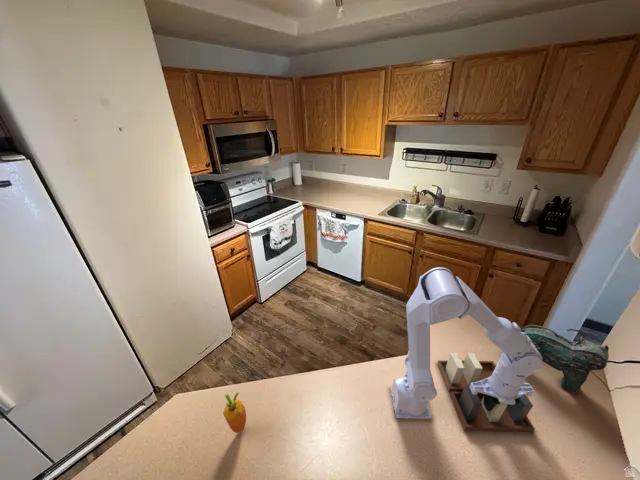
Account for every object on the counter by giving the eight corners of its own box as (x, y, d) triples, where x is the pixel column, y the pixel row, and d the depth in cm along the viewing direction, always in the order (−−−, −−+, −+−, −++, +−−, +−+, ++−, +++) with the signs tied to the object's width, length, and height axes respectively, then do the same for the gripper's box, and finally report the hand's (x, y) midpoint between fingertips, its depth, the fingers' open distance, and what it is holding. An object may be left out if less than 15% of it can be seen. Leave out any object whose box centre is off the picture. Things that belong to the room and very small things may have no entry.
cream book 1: (451, 384, 77) (457, 367, 73) (444, 369, 82) (450, 352, 78) (458, 384, 77) (464, 368, 73) (451, 369, 82) (457, 352, 78)
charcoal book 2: (514, 422, 68) (525, 405, 64) (502, 403, 72) (512, 386, 69) (521, 422, 68) (533, 405, 64) (510, 403, 72) (520, 386, 68)
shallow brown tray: (448, 392, 76) (449, 388, 75) (437, 364, 84) (438, 360, 83) (508, 393, 75) (510, 389, 74) (491, 365, 83) (493, 361, 82)
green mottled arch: (582, 385, 77) (619, 339, 67) (583, 403, 72) (621, 356, 63) (504, 348, 88) (526, 305, 78) (500, 361, 84) (522, 317, 74)
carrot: (230, 425, 69) (218, 392, 62) (249, 417, 71) (239, 385, 64) (231, 445, 65) (219, 413, 58) (251, 437, 67) (242, 404, 60)
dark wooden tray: (463, 431, 67) (465, 427, 66) (449, 395, 75) (451, 391, 74) (532, 432, 66) (534, 429, 65) (510, 396, 74) (512, 392, 73)
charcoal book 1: (466, 421, 69) (474, 404, 65) (457, 402, 73) (465, 385, 69) (473, 421, 68) (482, 404, 65) (465, 402, 73) (472, 385, 69)
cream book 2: (468, 385, 77) (475, 368, 73) (460, 369, 81) (467, 352, 78) (475, 385, 77) (482, 368, 73) (467, 369, 81) (474, 353, 78)
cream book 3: (490, 422, 68) (499, 405, 64) (480, 402, 73) (488, 385, 69) (497, 422, 68) (507, 405, 64) (487, 402, 73) (496, 385, 69)
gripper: (486, 391, 59) (470, 422, 66) (551, 393, 59) (529, 424, 66) (471, 364, 66) (458, 395, 72) (530, 365, 65) (512, 396, 72)
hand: (491, 407), depth 69 cm, fingers closed on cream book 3, 2 cm apart
